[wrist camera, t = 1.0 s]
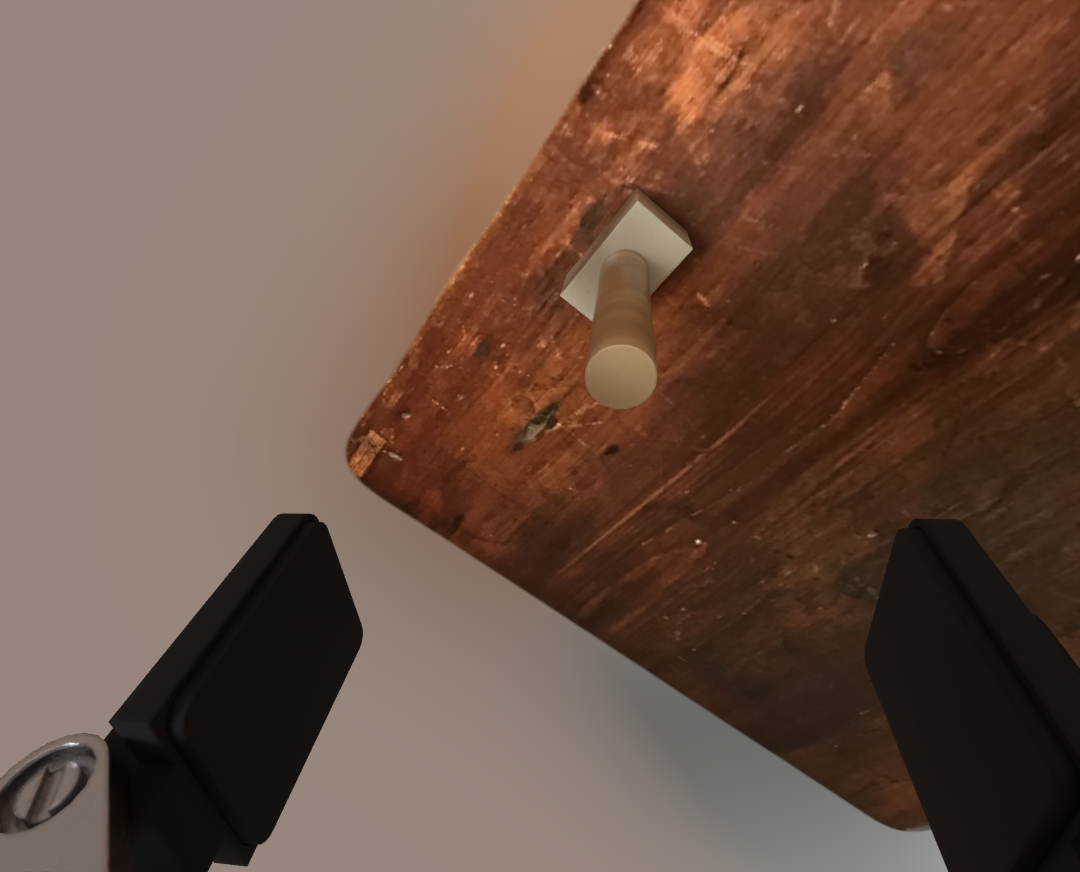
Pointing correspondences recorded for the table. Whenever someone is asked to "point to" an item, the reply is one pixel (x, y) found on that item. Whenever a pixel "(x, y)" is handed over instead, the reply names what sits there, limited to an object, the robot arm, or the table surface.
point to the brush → (625, 298)
